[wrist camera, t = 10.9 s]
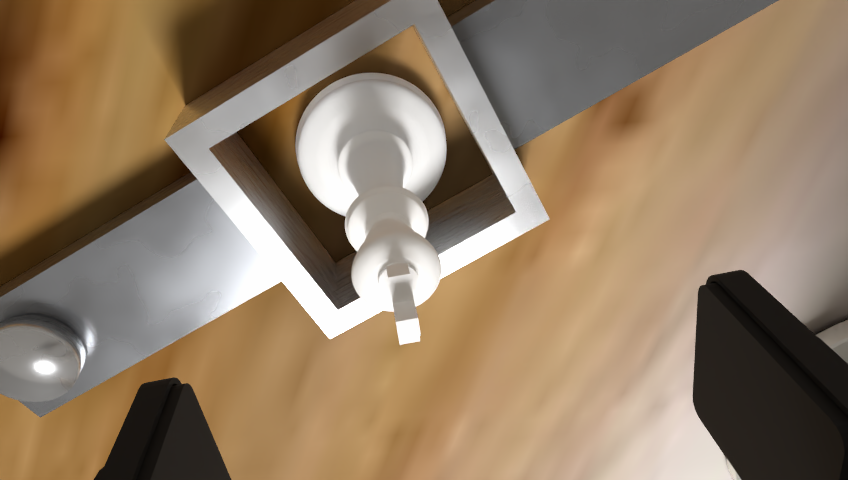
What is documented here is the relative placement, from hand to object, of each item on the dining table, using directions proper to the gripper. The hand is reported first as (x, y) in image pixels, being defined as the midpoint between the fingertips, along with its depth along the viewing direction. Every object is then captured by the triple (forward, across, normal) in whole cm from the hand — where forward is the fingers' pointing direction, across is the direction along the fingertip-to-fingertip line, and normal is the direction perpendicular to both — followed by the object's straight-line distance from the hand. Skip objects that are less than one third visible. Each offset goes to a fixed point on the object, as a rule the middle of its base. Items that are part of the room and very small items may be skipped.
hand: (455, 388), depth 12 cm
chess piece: (+11, +1, -1) cm, 11 cm away
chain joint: (+11, +1, -1) cm, 11 cm away
